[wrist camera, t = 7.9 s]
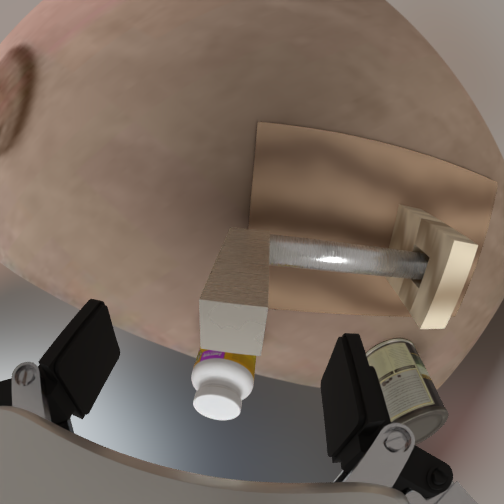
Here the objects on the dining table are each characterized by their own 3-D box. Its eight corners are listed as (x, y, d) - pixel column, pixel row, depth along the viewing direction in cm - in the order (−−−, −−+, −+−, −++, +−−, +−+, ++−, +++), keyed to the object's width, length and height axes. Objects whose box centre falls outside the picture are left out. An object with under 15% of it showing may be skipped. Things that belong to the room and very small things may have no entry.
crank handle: (230, 256, 23) (200, 348, 13) (232, 222, 22) (199, 299, 12) (418, 275, 23) (479, 350, 12) (427, 247, 21) (499, 314, 11)
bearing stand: (258, 122, 25) (249, 109, 14) (491, 180, 24) (553, 205, 13) (243, 298, 33) (230, 372, 22) (450, 311, 32) (489, 363, 21)
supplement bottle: (237, 299, 33) (220, 380, 21) (268, 334, 35) (265, 415, 23) (197, 322, 35) (170, 398, 23) (229, 353, 37) (214, 429, 25)
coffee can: (426, 341, 34) (462, 407, 21) (393, 384, 38) (415, 449, 25) (376, 333, 34) (408, 413, 21) (344, 380, 38) (359, 455, 25)
